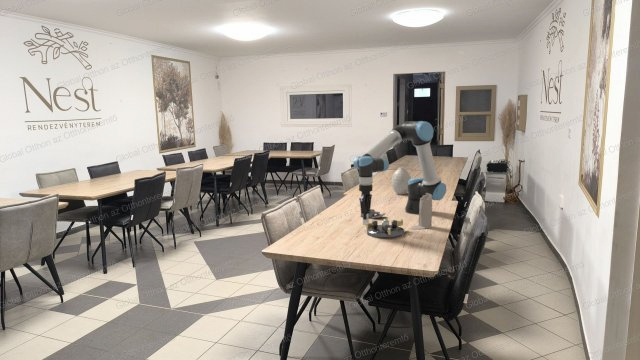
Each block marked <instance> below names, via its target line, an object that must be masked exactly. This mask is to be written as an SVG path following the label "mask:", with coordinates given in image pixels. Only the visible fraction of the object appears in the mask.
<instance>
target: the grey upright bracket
mask: <svg viewBox="0 0 640 360" xmlns="http://www.w3.org/2000/svg"><path fill="white" fill-rule="evenodd" d="M432 212H433V200H432V195H431V194H429V193H426V195H423V197H422V198H420V211H419V214H418V224H417V225H413V226H411V227H409V229H411V230H425V228H426V229H431V228H432V227H433V226H432V221H433V219H432V218H433V216H432V215H433V213H432ZM430 227H431V228H430Z"/></svg>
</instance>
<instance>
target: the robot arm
mask: <svg viewBox="0 0 640 360" xmlns="http://www.w3.org/2000/svg"><path fill="white" fill-rule="evenodd" d="M433 137H434V128H433V126H432V124H431V123H430V122H428V121H425V120H424V121H423V120H418V121H416V120H413V121H411V120H409V121H408V120H407V121H403V122H401V123H399V124H398V125H396V126H395V127H393V128H392V129H390V130H389V133H388V134H387V135H385V136H384V138H383V139H381V140H380V141H379V142H378V143H376V144H375V145H374V146H372V148H370V149H369V150H367V152H366V153H364V154H363V155H362V156H356V157H355V158H354V159H353V161H352V162H353V166H354V168H355V169H357V170H358V181H359V182H358V183H359V185H358V191H359V192H361V193H360V194H361V196H360V197H359V199H358V200H359V204H360V215H361V214H363V217H362V225H364V226H366V224H367V222H369V218H368V213H370V212H369V211H370V209H371V208H372V207H371V204H372V197H373V194H371V192H373V178H374V177H373V173H381V172H385V171H387V170H388V169H389V167H390V165H389V161H388V159H386V158H384V157H383V158H381V157H382V156H383V155H385V154H386V153H387V152H388V151H389V150H391V149H392V148H393V147H394V146H395V145H397V144H400V143H402V142H403V141H407V140H409V141H411V143H412V146H414V147H415V148H416V153H417V157H418V158H417V159H418V161H419V165H420V169H421V173H422V177H413V178H411V179H410V180H409V181H408V192H407V202H406V205H405V208H404V209H405V210H404V211H405V212H406V213H408V214H415V215H419V211H420V198H422V197H423V195H426V193H429V194H431V195H432V201H441V200H442V199H444V197H445V196H446V193H447V185H446V183H444V182H442V181H441V177H439V176H438V174H437V169H436V165H435V161H434V157H433V152H432V148H431V142H432V139H433Z"/></svg>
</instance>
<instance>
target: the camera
mask: <svg viewBox="0 0 640 360" xmlns="http://www.w3.org/2000/svg"><path fill="white" fill-rule="evenodd" d="M369 212H370V213H368V219H378V218H382V217H383V216H385V215H386V213H385V212H384V213H383V212H382V213H380V211H376V210H375V209H373V208H370V211H369ZM360 218H363V214H361V213H360Z"/></svg>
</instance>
